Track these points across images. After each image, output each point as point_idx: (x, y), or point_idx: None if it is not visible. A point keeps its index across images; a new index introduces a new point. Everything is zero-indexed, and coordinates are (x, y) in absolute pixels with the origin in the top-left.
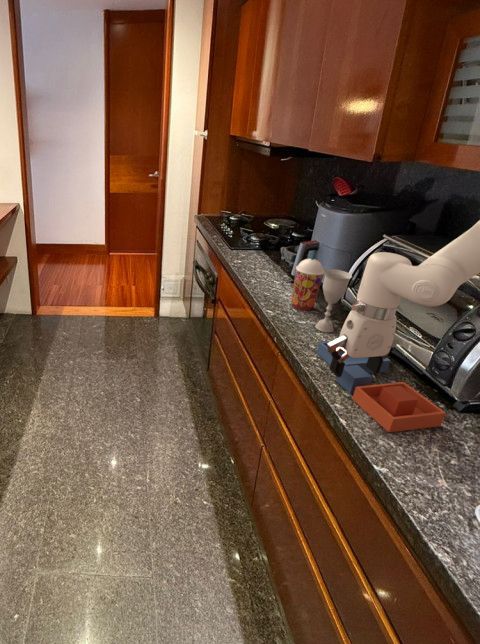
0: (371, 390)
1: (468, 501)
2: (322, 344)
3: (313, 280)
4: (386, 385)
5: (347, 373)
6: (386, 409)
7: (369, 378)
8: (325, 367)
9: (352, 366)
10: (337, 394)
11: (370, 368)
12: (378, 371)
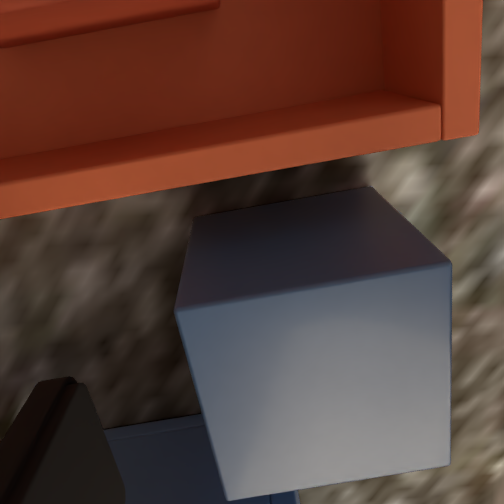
0: (242, 130)
1: None
2: None
3: None
4: (31, 176)
5: (447, 360)
6: None
7: (209, 288)
8: (353, 482)
9: (309, 474)
10: (492, 173)
11: (103, 455)
12: (39, 400)
